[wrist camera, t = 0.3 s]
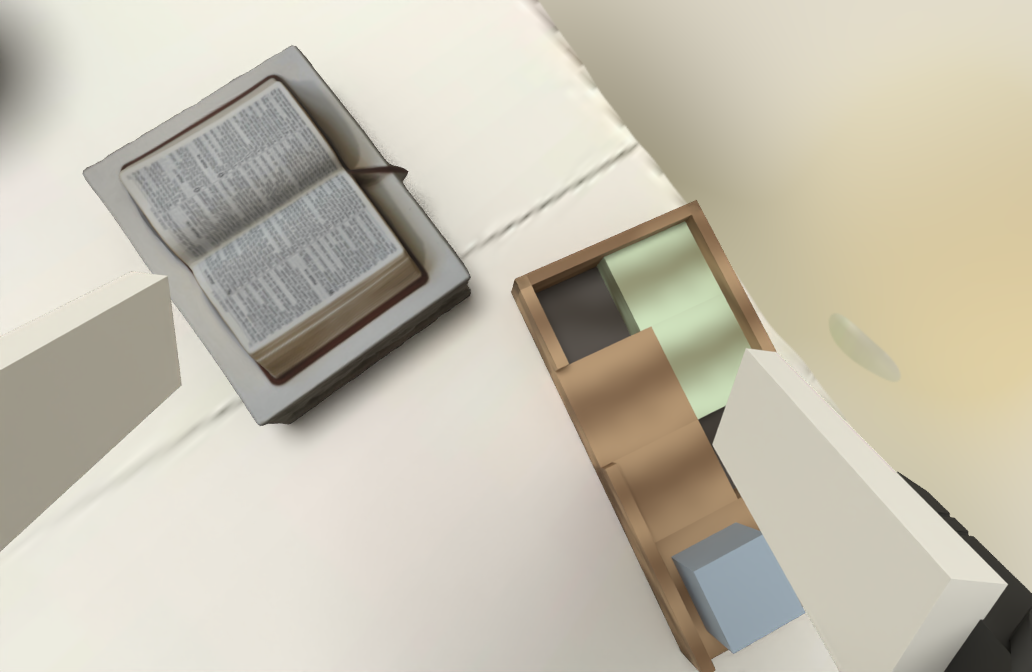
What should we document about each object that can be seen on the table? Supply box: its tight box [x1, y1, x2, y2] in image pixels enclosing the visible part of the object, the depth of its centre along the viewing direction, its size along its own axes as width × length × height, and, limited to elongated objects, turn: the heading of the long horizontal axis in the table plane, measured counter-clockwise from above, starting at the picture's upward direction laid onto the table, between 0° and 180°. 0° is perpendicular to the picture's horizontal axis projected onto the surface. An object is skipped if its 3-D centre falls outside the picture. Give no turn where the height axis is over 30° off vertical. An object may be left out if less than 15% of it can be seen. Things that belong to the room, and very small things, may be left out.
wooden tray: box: [511, 200, 803, 672], centre depth 46 cm, size 33×17×4 cm, turn 25°
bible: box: [83, 46, 470, 426], centre depth 44 cm, size 23×27×10 cm
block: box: [671, 522, 805, 654], centre depth 41 cm, size 6×6×4 cm
